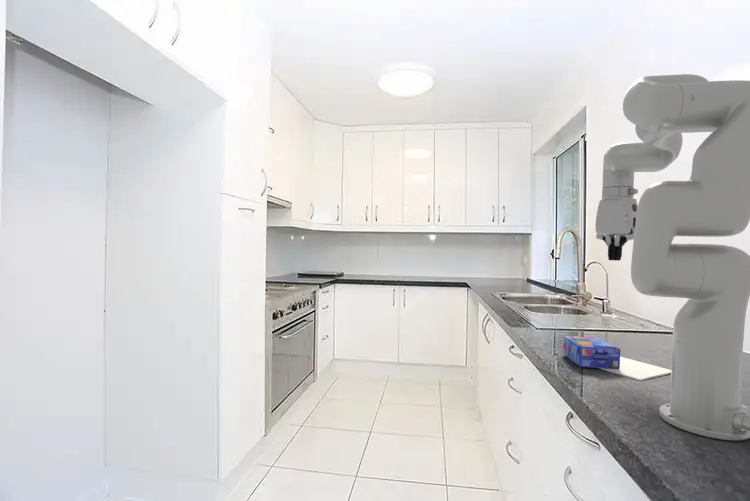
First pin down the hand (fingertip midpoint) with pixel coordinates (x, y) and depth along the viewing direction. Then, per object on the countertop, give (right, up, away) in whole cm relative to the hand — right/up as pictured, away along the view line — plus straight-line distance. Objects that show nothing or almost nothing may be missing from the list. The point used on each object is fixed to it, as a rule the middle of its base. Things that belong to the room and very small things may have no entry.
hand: (614, 260), depth 114 cm
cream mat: (-3, -27, -10) cm, 29 cm away
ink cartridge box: (-10, -24, -1) cm, 26 cm away
